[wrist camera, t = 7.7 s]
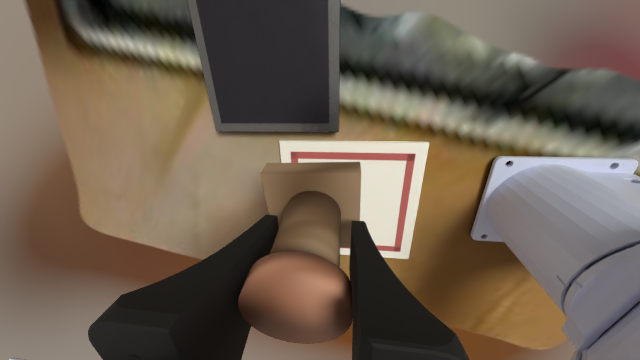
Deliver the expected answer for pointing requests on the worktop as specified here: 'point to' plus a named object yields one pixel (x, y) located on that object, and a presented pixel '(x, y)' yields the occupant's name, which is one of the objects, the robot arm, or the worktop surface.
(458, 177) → the worktop surface
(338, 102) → the ink pad
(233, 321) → the robot arm
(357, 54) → the worktop surface
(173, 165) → the worktop surface
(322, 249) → the stamp
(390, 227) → the marked sheet
